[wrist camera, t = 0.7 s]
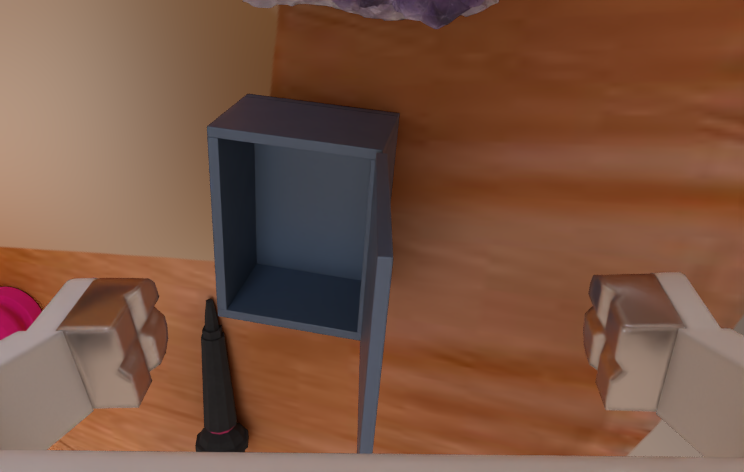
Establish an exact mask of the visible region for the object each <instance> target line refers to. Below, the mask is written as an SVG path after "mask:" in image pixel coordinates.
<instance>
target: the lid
mask: <svg viewBox="0 0 744 472" xmlns="http://www.w3.org/2000/svg"><path fill="white" fill-rule="evenodd" d="M392 266H393V242H392V223H391V204H390V186H389V167H388V154H387V153H376V160H375V172H374V184H373V196H372V208H371V220H370V232H369V244H368V256H367V268H366V280H365V292H364V304H363V316H362V328H361V340H360V366H359V402H358V437H357V454H372V453H373V443H374V434H375V425H376V415H377V406H378V397H379V388H380V378H381V369H382V360H383V350H384V341H385V332H386V322H387V313H388V304H389V294H390V285H391V276H392Z"/></svg>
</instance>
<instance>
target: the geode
mask: <svg viewBox="0 0 744 472" xmlns="http://www.w3.org/2000/svg"><path fill="white" fill-rule="evenodd" d="M243 2H248V3H249V4H251V5H252V6H254V7H259V8H272V7H273V6H275V5H277V4H279V5H289V6H294V5H297V4H314V5H323V6H330V7H334V8H335V9H341V10H344V11H346V12H350V13H355V14H359V15H361V16H363V17H367V18H374V19H383V20H384V21H385V20H390V21H393V20H404V19H410V20H416V21H422V22H423V23H425V24H426V25H428V26H430V27H432V28H434V29H439V28H441V27H443V26H445V25H448V24H449V23H450V22H452V21H453V20H454V19H456V18H457V17H458V16H460V15H463V16H465V17H467V16H470V15H473V14H476V13H479V12H481V11H484V10H485V9H487V8H488V7H489V6H491V5H493V4H496V3H498V2H499V0H243Z"/></svg>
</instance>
